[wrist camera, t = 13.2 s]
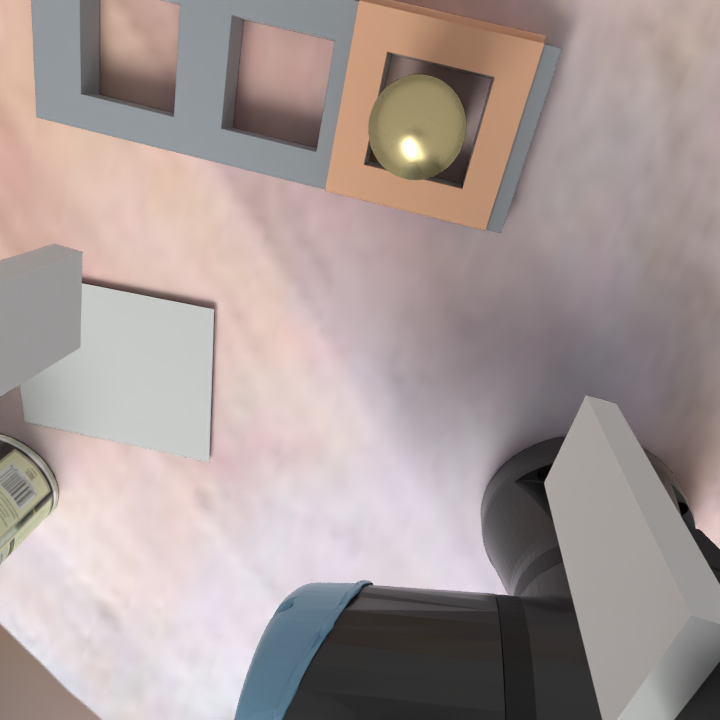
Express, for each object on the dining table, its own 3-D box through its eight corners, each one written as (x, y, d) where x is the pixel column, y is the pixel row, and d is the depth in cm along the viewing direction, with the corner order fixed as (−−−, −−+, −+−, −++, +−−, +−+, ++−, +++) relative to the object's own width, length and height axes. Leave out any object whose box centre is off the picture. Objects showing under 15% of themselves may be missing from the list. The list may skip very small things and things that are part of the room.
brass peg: (471, 92, 32) (478, 87, 22) (451, 162, 34) (450, 190, 23) (404, 77, 33) (380, 63, 22) (389, 147, 34) (359, 167, 24)
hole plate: (558, 43, 31) (566, 39, 29) (498, 226, 35) (501, 234, 33) (51, -75, 32) (22, -87, 30) (56, 116, 37) (32, 117, 35)
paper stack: (-10, 133, 38) (-18, 133, 38) (342, 196, 36) (341, 197, 36) (30, 417, 49) (24, 422, 48) (306, 478, 47) (304, 483, 46)
